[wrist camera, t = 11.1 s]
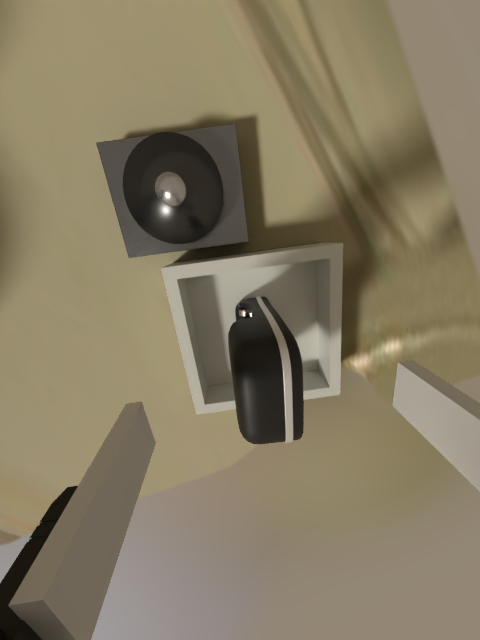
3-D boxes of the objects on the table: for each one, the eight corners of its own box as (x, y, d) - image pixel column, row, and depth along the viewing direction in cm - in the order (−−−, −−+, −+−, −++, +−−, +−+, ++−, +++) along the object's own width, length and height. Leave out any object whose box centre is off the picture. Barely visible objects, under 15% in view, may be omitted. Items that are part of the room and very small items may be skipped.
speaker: (137, 256, 21) (114, 260, 17) (110, 152, 18) (73, 126, 14) (246, 241, 21) (251, 241, 17) (234, 135, 18) (236, 103, 14)
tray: (201, 389, 26) (196, 414, 22) (173, 262, 21) (160, 267, 17) (323, 372, 26) (340, 394, 22) (322, 242, 21) (343, 243, 17)
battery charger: (226, 297, 21) (224, 354, 11) (266, 292, 21) (305, 345, 11) (234, 362, 24) (239, 464, 13) (270, 358, 24) (305, 456, 13)
